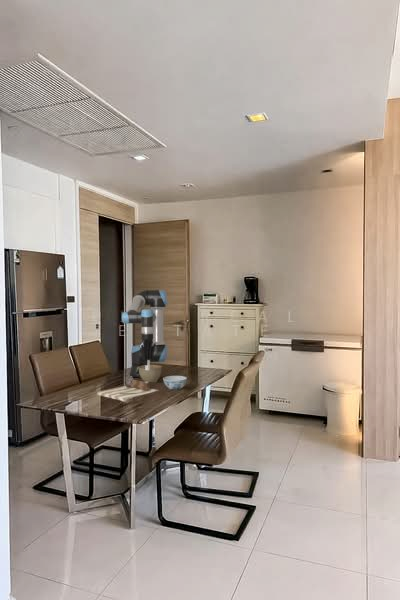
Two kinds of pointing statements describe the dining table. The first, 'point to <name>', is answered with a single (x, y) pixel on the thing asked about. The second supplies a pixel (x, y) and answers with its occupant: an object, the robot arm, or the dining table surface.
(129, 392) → the gauge board
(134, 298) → the robot arm
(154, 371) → the planter bowl
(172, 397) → the dining table surface
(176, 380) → the chinaware
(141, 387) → the gauge needle
